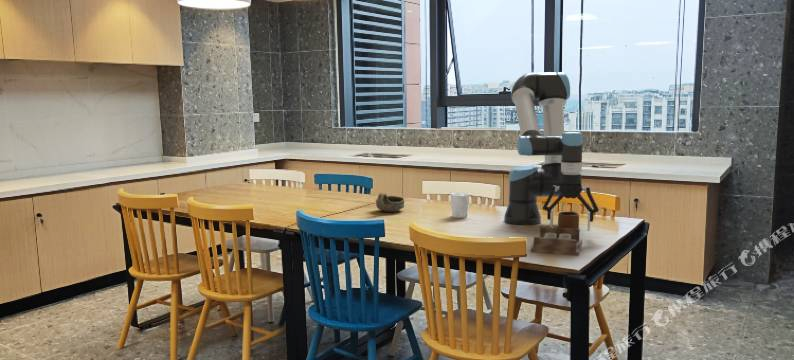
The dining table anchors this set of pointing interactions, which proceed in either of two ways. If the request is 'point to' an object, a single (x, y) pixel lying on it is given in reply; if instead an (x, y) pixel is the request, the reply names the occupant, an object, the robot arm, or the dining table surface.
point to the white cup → (459, 204)
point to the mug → (568, 220)
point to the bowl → (389, 202)
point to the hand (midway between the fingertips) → (569, 229)
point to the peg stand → (557, 241)
